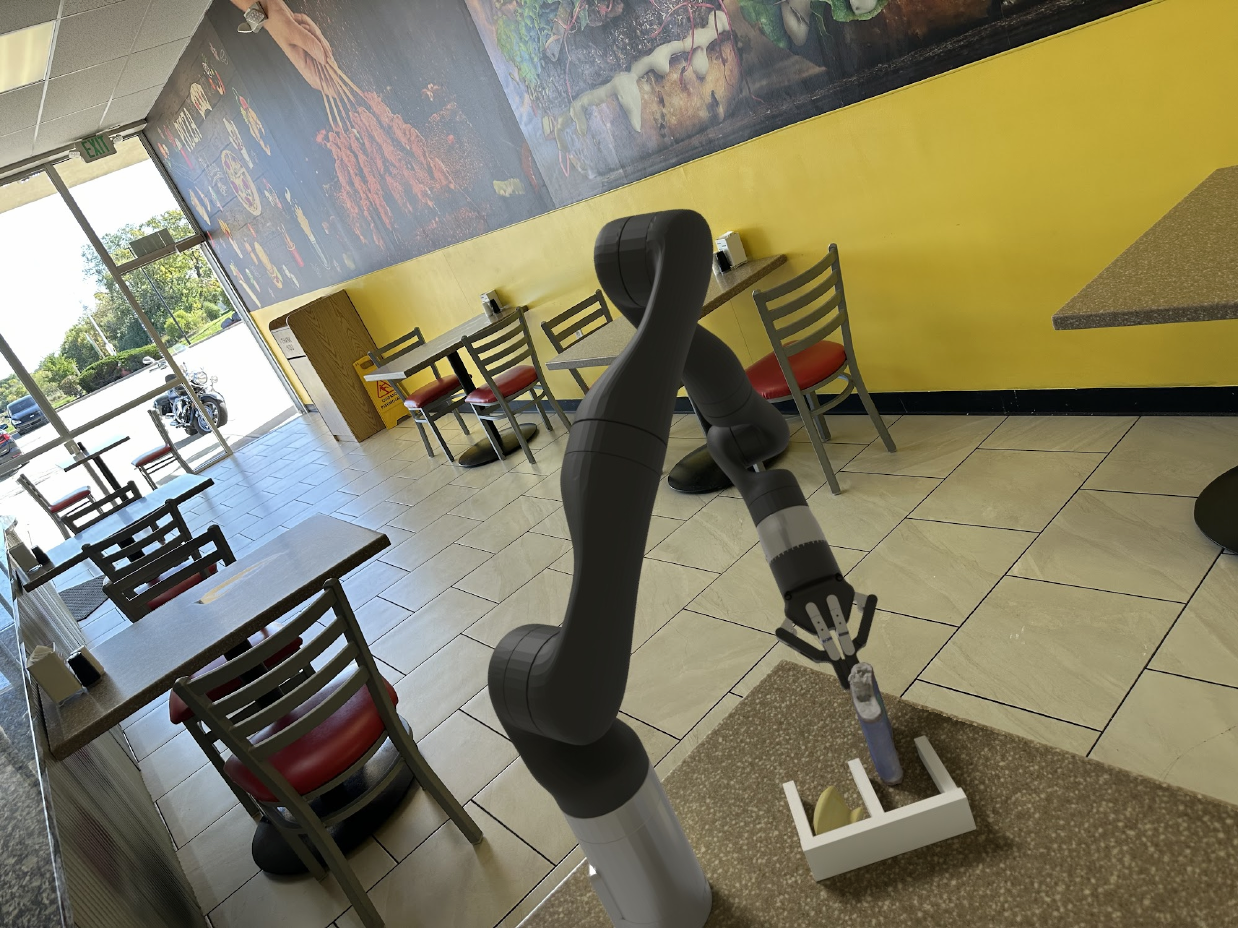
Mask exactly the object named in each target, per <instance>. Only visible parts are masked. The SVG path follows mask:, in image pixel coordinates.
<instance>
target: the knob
mask: <svg viewBox="0 0 1238 928" xmlns="http://www.w3.org/2000/svg"><path fill="white" fill-rule="evenodd" d="M864 813H865V811H864V807H862V806H860V807H857V808H855V809H850V807H849V805H848V803H847V802H846V801H845V799H844V797H843V796H842V794H841V793H840V792H839V790H838V788H837V787H836V786H835V785H830V786H828V787H827V788H826V789H825V790H823V792H822V793H821V794H820V796H819V797H818V800H817V802H816V804H815V807H814V812H813V827H814V828H813V829H814V833H815V836H817V835H820V834H823V833H826V832H829V831H832V830H835V829H838V828H841V827H844V826H847V825H850V824H853V823H856V822H859V821H862V820H864Z"/></svg>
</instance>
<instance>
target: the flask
mask: <svg viewBox="0 0 1238 928" xmlns="http://www.w3.org/2000/svg"><path fill="white" fill-rule="evenodd" d="M848 681H850V690H849V693H850V692H851V693H850V696H851V701H852V705H853V707H854V710H855V713H856V715H857V719H858V721H859V723H860V727H861V730H862V732H863V735H864V739H865V742H866V745H867V748H868V750H869V755H870V757H871V760H872V763H873V764H874V767H875V772H876V773H877V774H878V778H879V779H880V780H881V782H882V783H884V785H888V786H894V785H896V784H902V782H903V779H904V770H903V768H902V766H901V763H900V754H899V752H898V750H896V748H895V745H896V743H895V741H894V733H893V732H894V731H893V727H892V725H891V722H890V719H889V715H888V713H887V710H886V706H885V703H884V699H883V696H882V693H881V690H880V687H879V684H878V681H877V679H876V676H875V670H874V667H873V665H871V663H869V662H865V661H863V662H860V663H858V664H856V665H854V666H853V668H852V670H851V674H850V675H849V677H848Z"/></svg>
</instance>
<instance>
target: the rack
mask: <svg viewBox="0 0 1238 928" xmlns="http://www.w3.org/2000/svg"><path fill="white" fill-rule="evenodd" d="M913 742H914V743H915V747H916V750H917V753H918V756H919V758H920V760H921V762H922V763H923V765H924V767H925V769H926V770H927V772H928V774H929V776H930V777H931V779H932V781H933V783H934V784H935V786H936V788H937V789H938V791H939V794H937V795H934V796H931V797H928V798H925V799H922V800H919V801H917V802H913V803H911V804H907V805H904V806H901V807H898V808H895V809H892V810H890V811H886V812H885V810H884V809H883V807H882V804H881V802H880V799H879V798H878V796H877V794H876V792H875V790H874V788H873V786H872V784H871V781H870V779H869V777H868V775H867V772H866V771H865V768H864V766H863V764H862V762H861V759H860V757H856V758H854V759H851V760H848V761H847V764H848V767H849V769H850V772H851V775H852V778H853V780H854V782H855V784H856V786H857V789H858V791H859V793H860V796H861V797H862V798H861V799H862V800H863V802H864V804H865V807H866V810H867V811H868V814H869V816H870V817H868V818H865V819H863V820H862V821H859V822H856V823H853V824H850V825H847V826H844V827H841V828H838V829H835V830H832V831H829V832H826V833H823V834H820V835H817V836H816V835H814V833H813V830H812V828H811V825H810V822H809V819H808V816H807V813H806V810H805V808H804V805H803V802H802V799H801V797H800V794H799V792H798V789H797V786H796V784H795V782H794V780H790V781H788V782H784V783H782V787H783V791H784V793H785V796H786V799H787V803H788V805H789V808H790V812H791V815H792V817H793V821H794V824H795V827H796V830H797V834H798V837H799V839H800V840H799V841H800V845H801V848H802V851H803V854H804V856H805V858H806V861H807V864H808V866H809V869H810V871H811V873H812V875H813V878H814V881H815V883H816V882H819V881H822V880H825V879H829V878H833V877H834V876H838V875H840V874H844V873H847V872H850V871H852V870H855V869H858V868H862V867H865V866H868V865H871V864H873V863H877V862H881V861H883V860H886V859H890V858H892V857H896V856H898V855H901V854H904V853H907V852H911V851H914V850H916V849H919V848H923V847H926V846H929V845H931V844H932V845H933V844H935V843H938V842H940V841H941V842H942V841H944V840H947V839H950V838H953V837H956V836H959V835H963V834H964V833H968V832H971V831H974V830H976V829H977V825H976V823H975V820H974V816H973V812H972V809H971V807H970V804H969V801H968V797H967V796H966V793H965V792H964V790H963V789H962V787H958V786H957V785H956V783H955V781H954V780H953V779H952V777H951V775H950V773H949V771H948V770H947V768H946V767H945V765H944V763H942V761H941V759H940V757H939V756H938V754H937V752H936V751H935V749H934V748H933V746H932V744H931V743H930V741H929V739H928V737H927V736H926V735H922V736H918V737H916V738H914V739H913Z"/></svg>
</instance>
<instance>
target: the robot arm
mask: <svg viewBox="0 0 1238 928" xmlns="http://www.w3.org/2000/svg"><path fill="white" fill-rule="evenodd" d="M711 230H712V229H711V227H710V225H709V223H708V221H707V219H706V218H705V217H704V216H703V215H702V214H701V213H699V212H698V211H696V210H694V209H688V208H676V209H675V208H674V209H666V210H660V211H653V212H652V211H651V212H647V213H641V214H635V215H629V216H624V217H623V216H622V217H620V218H615V219H613V220H611V221H609V222H607V223H606V224H605V225H603V226H602V227H601V228H600V230H599V232H598V234H597V236H596V237H595V241H594V242H595V243H594V247H593V263H594V270H595V273H596V277H597V280H598V282H599V283H598V284H599V285H600V287H601V289H602V290H603V292H604V294H605V295H606V298H608V300H609V301H610V302H611V304H612V305H613V306H614V307H615V308H616V309H617V310H618V311H619V312H620V314H621V315H622V316H623V317H624V318H625V319H626V320H627V321H628V322H629V323H630V324H631V325H632V326H633V328H635V329H636V331H635V333H634V335H633V336H632V338H631V339H630V341H629V342H628V343H627V344H626V345H625V347H624V348H623V350H622V351H621V352H620V353H619V354H618V356H617V357H615V358H614V360H613V361H612V362H611V363H610V365H609V366H608V367H607V368H606V369H605V370H604V371H603V372H602V374H601V375H599V377H598V379H596V381H595V382H594V383H593V384H592V385H591V387H590V388H589V390H588V391H587V392H586V394H585V396H584V397H583V399H581V401H580V403H579V405H578V407H577V409H576V411H575V413H574V418H573V420H572V423H571V427H570V431H569V433H568V439H567V443H566V446H565V450H564V453H563V454H564V455H563V458H562V463H561V470H560V478H559V481H560V482H559V483H560V484H559V485H560V494H561V500H562V505H563V510H564V515H565V519H566V522H567V523H566V524H567V527H568V531H569V535H570V540H571V545H572V550H573V551H572V553H573V573H572V581H571V589H570V593H569V598H568V603H567V606H566V610H565V613H564V618H563V622H562V624H561V626H557V625H552V624H544V623H528V624H523V625H520V626H517V627H515V628H513V629H512V630H509V631H508V632H507V633H506V634H505V635H504V636H503V637H502V638H501V639H500V641H499V642H498V643H497V645H496V646H495V647H494V649H493V651H492V654H491V657H490V660H489V664H488V669H487V689H488V690H487V691H488V695H489V699H490V703H491V705H492V706H491V707H493V710H494V712H495V716H496V717H497V719H498V721H499V723H500V724H501V726H502V728H503V730H504V732H505V733H506V736H507V737H508V739H509V741H510V742H511V743H512V745H513V747H514V749H516V751H517V753H518V755H519V757H520V758H521V760H522V762H523V764H525V767H526V768H527V769H528V771H529V773H530V774H531V776H532V777H533V778H534V780H535V781H536V782H537V783H538V784H539V785H540V786H541V787H543V789H544V790H546V791H547V792H548V793H549V794H550V795H551V796H552V797H553V798H554V801H555V802H556V804H557V807H558V808H559V809H560V811H561V813H562V815H563V817H564V819H565V821H566V823H567V825H568V826H569V828H570V830H571V831H572V834H573V835H574V837H575V839H576V840H577V841H576V842H577V843H578V845H579V846H580V849H581V850H582V852H583V854H584V856H585V858H586V860H587V862H588V879H589V880H588V881H589V883H590V886H592V889H593V890H594V893H595V894H596V896H597V898H598V900H599V901H600V903H601V905H602V907H603V909H604V910H605V912H606V914H607V916H608V918H609V920H610V921H611V923H612V925H613V927H614V928H703V927H704V926H705V924H706V922H707V921H708V919H709V916H710V914H711V910H712V905H713V894H712V893H713V892H712V889H711V886H710V883H709V882H708V881H709V880H708V879H707V877H706V875H705V872H704V870H703V868H702V866H701V864H700V862H699V859H698V858H697V856H696V854H695V851H694V849H693V847H692V845H691V843H690V840H689V839H688V837H687V835H686V833H685V830H684V828H683V826H682V825H681V822H680V820H679V817H678V815H677V813H676V811H675V810H674V807H673V805H672V803H671V801H670V799H669V797H668V795H667V793H666V790H665V789H664V786H663V784H662V782H661V780H660V779H659V778H660V777H659V776H658V774H657V772H656V770H655V768H654V765H653V764H652V762H651V759H650V757H649V755H648V752H647V750H646V749H645V745H644V744H643V742H642V740H641V739H640V737H639V735H638V733H637V732H636V731H635V730H634V729H633V728H632V727H631V726H630V725H629V724H627V723H626V722H624V721H623V720H621V719H620V718H618V717H617V716H618V715H619V712H620V710H621V706H622V704H623V700H624V697H625V693H626V689H627V685H628V678H629V672H630V663H631V657H632V647H633V640H634V639H633V638H634V631H635V630H634V629H635V619H636V611H637V603H638V593H639V587H640V580H641V573H642V568H643V563H644V558H645V554H646V553H645V552H646V546H647V540H648V535H649V530H650V527H651V526H650V525H651V521H652V515H653V511H654V508H655V507H654V506H655V503H656V498H657V495H658V491H659V486H660V482H661V478H662V476H663V475H662V474H663V469H664V464H665V459H666V455H667V450H668V446H669V439H670V434H671V427H672V424H673V422H672V421H673V417H674V413H675V408H676V402H677V397H678V395H679V394H678V392H679V390H680V386H681V382H682V384H683V385H684V387H685V388H686V390H687V391H688V393H689V395H690V396H691V398H692V400H693V402H694V403H695V405H696V407H697V408H698V410H699V412H700V414H701V415H702V416H703V418H704V419H705V420H706V421H707V423H709V424H710V425H711V427H710V428H709V430H708V432H707V435H706V446H707V451H708V452H709V455H710V457H711V458H712V460H713V461H714V462H715V463H716V464H717V466H718V467H719V468H720V469H721V471H722V472H723V473H724V474H725V476H727V478H729V479H730V481H731V482H732V484H733V485H734V486H735V488H736V489H737V491H738V492H739V494H740V496H741V498H742V500H743V501H744V504H745V506H746V508H747V510H748V512H749V514H750V518H751V520H752V522H753V525H754V527H755V529H756V532H757V535H758V540H759V543H760V547H761V549H762V552H763V554H764V558H765V560H766V562H767V564H768V566H769V569H770V570H771V574H772V575H773V578H774V580H775V583H776V586H777V588H778V591H779V593H780V595H781V598H782V600H783V603H784V610H783V612H784V613H783V614H784V616H785V618H784V619H783V622H782V623H781V625H780V626H779V627H777V628H776V629H775V630H774V634H775V638H776V640H777V641H779V642H780V643H782V644H784V645H785V646H786V647H789V648H790V649H792V650H794V651H795V652H797V653H798V654H800V655H802V656H803V657H805V658H807V659H808V660H810V661H812V662H813V663H814V664H830V665H831V667H832V668H833V670H834V673H835V675H836V677H837V680H838V682H839V684H840V687H841V689H842V690H843V691H844V692H846V691H849V693H850V694H851V692H850V681H848V677H849V675H850V674H851V670H852V668H853V666H854V665H856V664H858V663H861V662H860V660H859V658H858V655H857V654H858V652H860V650H862V649H864V648H865V647H866V645H867V643H868V640H869V635H870V632H871V628H872V624H873V620H874V616H875V614H876V613H875V612H876V609H877V605H878V600H879V599H878V596H877V595H876V594H874V593H870V594H864V593H862V592H857V591H856V590H855V587H853V585H852V584H850V583H849V582H848V581H847V580H846V578H845V577H844V574H843V573H842V571H841V568H840V566H839V564H838V562H837V559H836V557H835V555H834V553H833V551H832V549H831V547H830V544H829V542H828V539H827V538H826V536H825V533H824V531H823V529H822V527H821V525H820V522H819V521H818V520H817V517H816V516H815V514H814V513H813V512H812V510H811V508H810V505H809V503H808V502H807V498H806V496H805V495H804V492H803V490H802V489H801V485H800V483H799V481H798V480H797V477H796V475H795V474H794V473H793V472H792V471H791V470H789V469H787V468H775V469H767V470H763V471H752V470H749V469H748V468H750V467H753V466H755V465H757V464H759V463H761V462H764V461H767V460H768V459H770V458H773V457H775V456H778V455H779V454H781V453H782V452H784V451H785V450H786V449H787V447H788V444H789V442H790V438H791V432H790V427H789V424H788V422H787V420H786V418H785V416H783V414H782V413H781V412H780V411H779V410H778V408H776V407H775V406H774V404H772V403H771V402H770V401H769V400H768V399H766V398H765V397H763V396H762V395H761V394H760V392H758V391H757V390H756V389H755V387H754V386H753V383H752V382H751V381H750V378H749V377H748V375H747V373H746V371H745V370H746V369H744V366H743V364H742V362H741V361H740V359H739V358H738V356H737V354H736V353H735V352H734V350H733V349H732V348H731V347H730V346H729V345H728V344H727V343H725V342H724V341H723V340H722V339H721V338H720V337H718V336H717V335H716V334H714V332H711V331H710V330H708V329H707V328H705V327H704V326H703V325H701V324H700V323H699V319H700V318H701V317H700V316H701V313H702V311H703V308H704V304H705V300H706V297H707V294H708V290H709V286H710V283H711V279H712V273H713V266H714V241H713V234H712V231H711ZM854 603H856V609H857V612H858V613H860V614H862V615H861V618H860V623H859V627H858V631H857V635H856V636H855V637H854V638H853V639H852V637H851V634H850V631H849V628H848V623H849V621H850V618H851V613H852V609H853V605H854ZM793 624H794V625H795V626H797V627H798V628H800V629H801V630H803V631H805V632H806V633H808V634H809V635H811V636H815V637H817V639H818V641H819V643H820V645H821V647H822V649H819V648H817V647H816V646H815V645H812V644H811V643H809V642H807V641H806V640H804V639H802V638H800V637H799V636H798V630H797V629H796V628H795V627H794V625H793ZM831 631H834V633H835V635H836V636H835V637H836V638H837V641H838V644H839V646H840V649H841V651H842V655H843V657H844V658H842V655H841V652H840V650H839V648H838V646H837V644H836V643H835V641H834V639H833V637H832V634H831Z"/></svg>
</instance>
